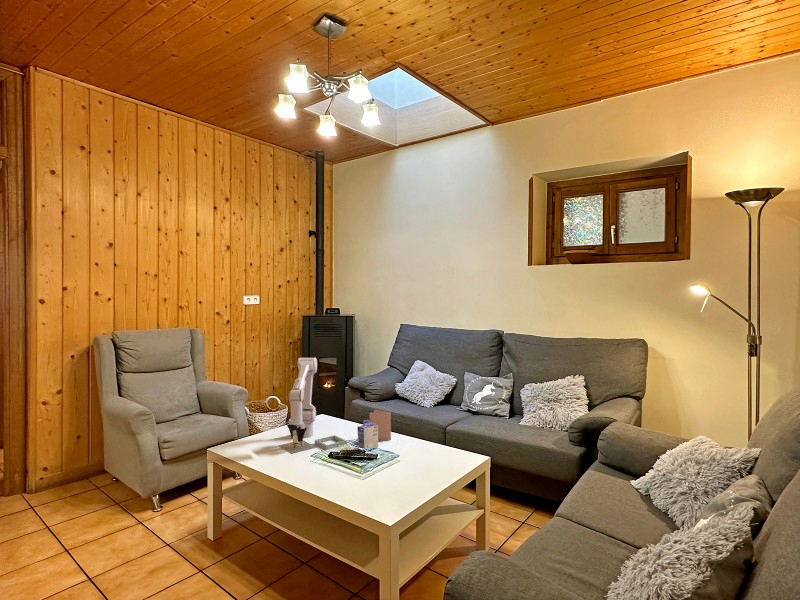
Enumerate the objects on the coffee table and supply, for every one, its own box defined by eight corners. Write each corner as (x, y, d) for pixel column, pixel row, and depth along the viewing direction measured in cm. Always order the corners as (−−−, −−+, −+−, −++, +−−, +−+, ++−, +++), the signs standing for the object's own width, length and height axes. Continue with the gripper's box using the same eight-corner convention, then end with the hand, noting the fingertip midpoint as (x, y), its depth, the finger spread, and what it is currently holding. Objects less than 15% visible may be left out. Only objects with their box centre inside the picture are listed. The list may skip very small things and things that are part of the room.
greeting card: (391, 439, 246) (391, 412, 245) (383, 443, 240) (383, 415, 239) (375, 436, 252) (375, 409, 252) (366, 439, 246) (366, 412, 246)
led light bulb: (291, 446, 232) (291, 430, 232) (298, 444, 235) (298, 429, 235) (295, 448, 229) (295, 432, 229) (302, 446, 231) (302, 431, 231)
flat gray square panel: (277, 448, 234) (277, 440, 234) (302, 442, 242) (302, 435, 242) (291, 456, 221) (291, 448, 221) (317, 450, 230) (316, 442, 230)
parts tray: (314, 446, 236) (314, 439, 236) (334, 441, 243) (334, 435, 243) (326, 452, 227) (326, 445, 227) (346, 447, 234) (346, 440, 234)
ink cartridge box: (371, 445, 237) (371, 417, 237) (378, 447, 233) (378, 419, 233) (357, 450, 230) (356, 421, 230) (364, 452, 226) (364, 423, 226)
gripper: (283, 411, 235) (283, 437, 235) (295, 417, 223) (296, 444, 224) (295, 409, 239) (296, 435, 239) (308, 414, 228) (309, 441, 228)
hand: (296, 439), depth 232 cm, fingers open, 7 cm apart
